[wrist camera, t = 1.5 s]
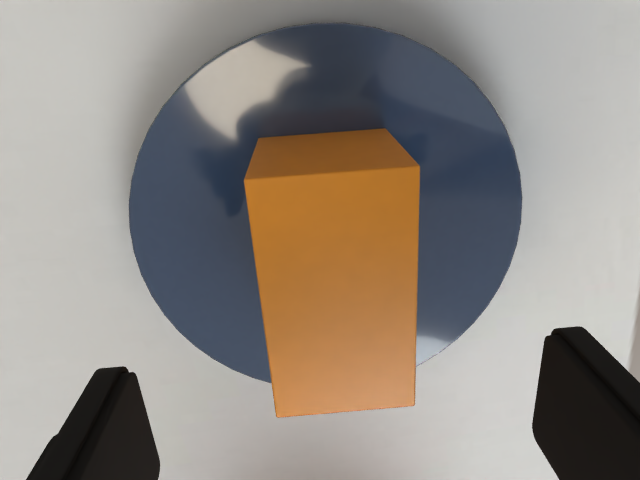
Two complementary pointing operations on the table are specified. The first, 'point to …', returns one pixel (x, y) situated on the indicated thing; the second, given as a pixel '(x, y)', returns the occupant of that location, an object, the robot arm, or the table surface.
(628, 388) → the robot arm
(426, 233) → the plate
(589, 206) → the table surface
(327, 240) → the block
